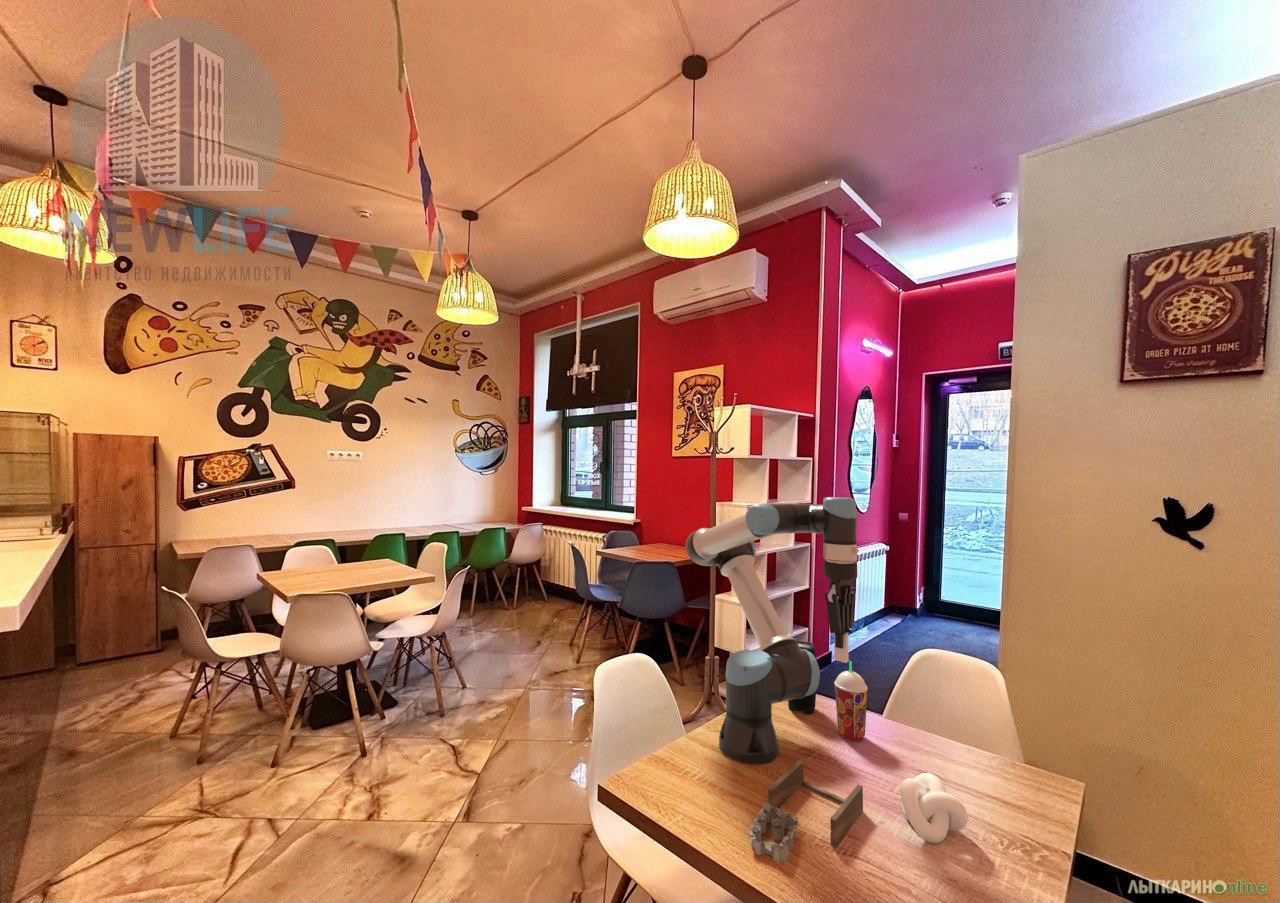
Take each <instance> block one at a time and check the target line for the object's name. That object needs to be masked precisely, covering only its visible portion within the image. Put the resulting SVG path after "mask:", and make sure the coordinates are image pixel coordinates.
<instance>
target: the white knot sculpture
mask: <svg viewBox="0 0 1280 903" xmlns="http://www.w3.org/2000/svg"><path fill="white" fill-rule="evenodd" d="M929 791H930V792H929ZM900 798H901V803H902V812H903V815H904V816H905V818H906V819H907V821H908V822H909V823H910V824H911V826H912V827H913V829H914V830H915V831H916V833H917V834H918V836H920V838H922V839H923V840H924V841H926V842H928V843H932V844H940V843H941V842H943V841H944V840H945V838H946V837H947V836H948V835H947V834H948V832H958V831H961V830H962V829H965V827H967V824H968V821H969V815H968V812H967V809H966V807H965V806H964V805H963V803H962V802H961V801H960V800H959V799H958V798H957V797H956V796H954V795H952V794H950V793H948V792H947V790H946V787H945V785H944V783H943V781H942V779H940V777H938V776H937V775H935V774H933V773H929V772H923V773H921V774H918V775H916V777H915V778H912V777H911V778H906V779H904V780H903V781H902V782H901V785H900ZM928 820H930V822H929V821H928Z"/></svg>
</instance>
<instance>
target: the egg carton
mask: <svg viewBox="0 0 1280 903" xmlns="http://www.w3.org/2000/svg"><path fill="white" fill-rule="evenodd" d="M769 823H770V826H771V828H770V830H771V831H770V834H771V837H772V838H773V839H775V840H778V841H781V840H782V841H781V842H780V843H776V842H775V841H765V840H763V841H762V834H765V833H766V832H767V824H769ZM798 827H799V818H798V817H797V816H795V817H793V816H791V814H790V812H789V811H788V812H785V811H784V809H781V808H780V809H778V808H777V807H776V808H774V807H772V806H771V805H770V804H769V802H768V801H767V802H764V804H763V806H762V808H761V810H760V811H759V813H757V814H756V817H755V818H754V819H753V821H752V823H751V824H750V825H749V827H748V831H749V838H750V840H751V841H750V842H751V845H750V846H751V847H752V848H753V849H754V851H755V854H757V855H759V856H762V855H763V854H766V855H769V856H771V857H772V859H773V861H774V862H776V863H778V864H779V863H781V862H787V861H788V859H789V855H790V853H789V850H792V849H793V845H794V839H797V838H798V833H797V831H798ZM784 830H788V832H787V834H786V835H784Z"/></svg>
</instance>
